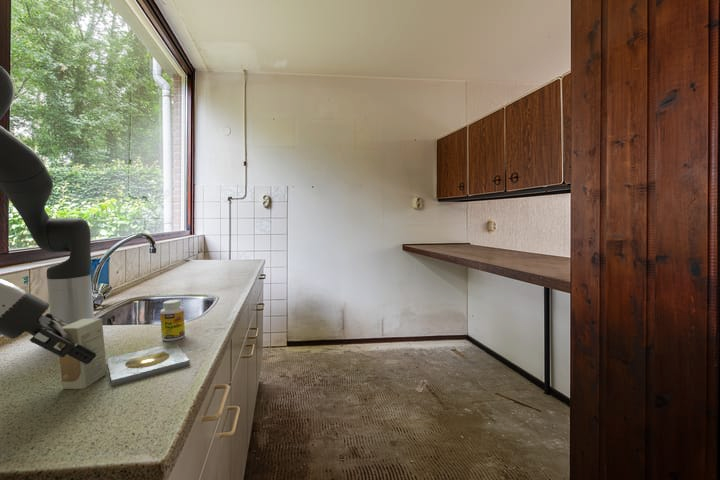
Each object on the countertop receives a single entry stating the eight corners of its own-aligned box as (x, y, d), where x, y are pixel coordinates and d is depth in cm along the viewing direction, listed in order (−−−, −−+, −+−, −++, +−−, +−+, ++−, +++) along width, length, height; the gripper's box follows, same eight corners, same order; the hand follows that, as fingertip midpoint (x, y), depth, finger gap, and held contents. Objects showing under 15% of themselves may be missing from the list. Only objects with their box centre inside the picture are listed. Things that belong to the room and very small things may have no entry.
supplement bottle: (162, 343, 89) (160, 305, 88) (161, 337, 94) (159, 300, 93) (186, 338, 92) (184, 301, 91) (183, 333, 97) (181, 297, 96)
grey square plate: (107, 363, 77) (107, 357, 77) (176, 347, 86) (175, 342, 86) (111, 386, 66) (111, 380, 66) (189, 365, 75) (189, 359, 75)
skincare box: (88, 374, 72) (83, 317, 71) (108, 374, 72) (103, 317, 71) (60, 390, 65) (55, 327, 64) (82, 390, 65) (77, 327, 64)
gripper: (19, 297, 57) (109, 346, 65) (29, 285, 68) (105, 328, 76) (-25, 336, 54) (75, 382, 62) (-7, 316, 65) (76, 358, 73)
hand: (92, 352), depth 69 cm, fingers open, 8 cm apart
